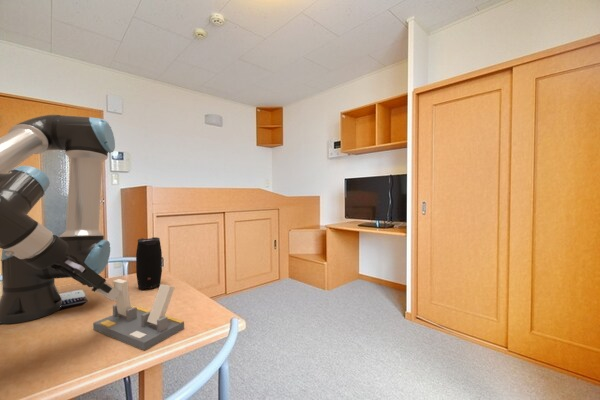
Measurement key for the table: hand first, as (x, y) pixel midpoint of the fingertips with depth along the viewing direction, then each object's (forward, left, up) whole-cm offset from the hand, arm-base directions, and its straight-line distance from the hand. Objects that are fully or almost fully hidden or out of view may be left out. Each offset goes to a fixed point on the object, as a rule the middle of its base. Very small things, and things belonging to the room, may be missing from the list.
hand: (115, 295), depth 77 cm
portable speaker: (-22, +26, -10) cm, 36 cm away
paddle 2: (+12, +3, -6) cm, 14 cm away
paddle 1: (-1, +3, -6) cm, 7 cm away
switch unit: (+6, +3, -10) cm, 12 cm away
